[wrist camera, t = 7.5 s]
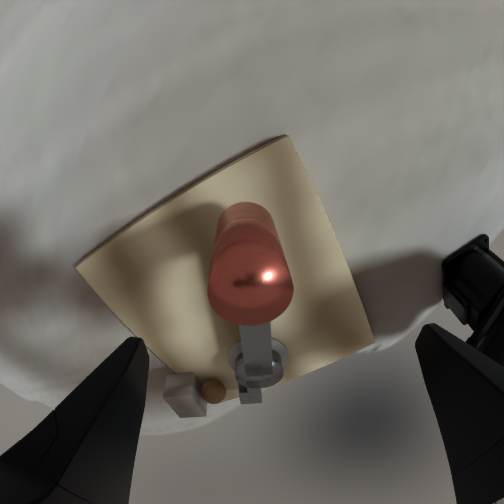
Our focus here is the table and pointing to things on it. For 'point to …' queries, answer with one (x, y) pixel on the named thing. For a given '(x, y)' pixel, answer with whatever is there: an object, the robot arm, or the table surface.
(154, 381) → the table surface
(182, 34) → the table surface
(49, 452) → the robot arm
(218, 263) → the lever
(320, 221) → the board
